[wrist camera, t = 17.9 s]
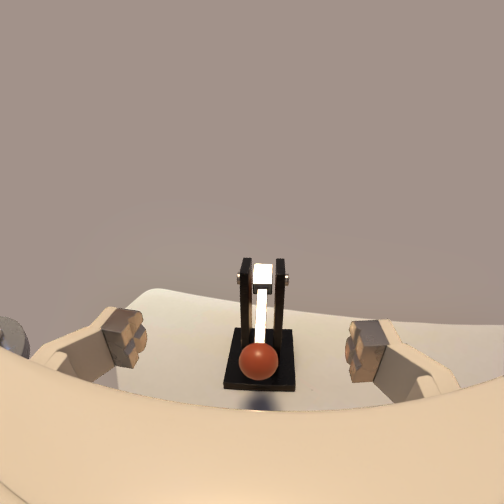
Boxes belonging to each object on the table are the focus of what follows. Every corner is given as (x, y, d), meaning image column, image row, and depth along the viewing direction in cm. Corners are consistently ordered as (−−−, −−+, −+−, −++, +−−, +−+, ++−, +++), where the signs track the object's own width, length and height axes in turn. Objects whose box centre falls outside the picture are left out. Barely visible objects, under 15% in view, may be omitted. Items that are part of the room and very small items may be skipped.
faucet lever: (276, 384, 27) (278, 376, 24) (239, 382, 28) (235, 374, 24) (279, 278, 35) (280, 260, 32) (247, 278, 36) (245, 259, 33)
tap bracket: (294, 391, 32) (307, 291, 27) (223, 388, 33) (214, 289, 27) (291, 335, 43) (298, 247, 38) (235, 333, 44) (231, 246, 38)
